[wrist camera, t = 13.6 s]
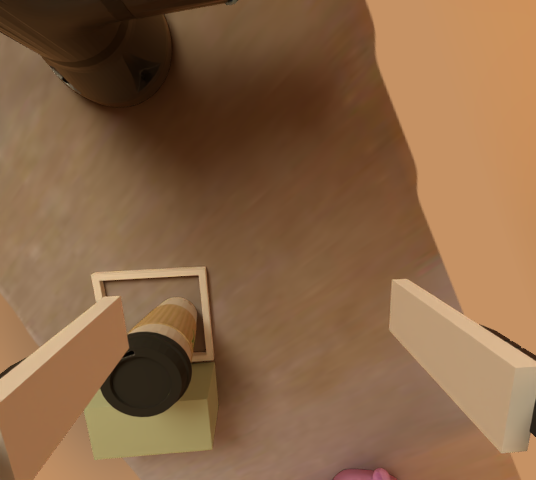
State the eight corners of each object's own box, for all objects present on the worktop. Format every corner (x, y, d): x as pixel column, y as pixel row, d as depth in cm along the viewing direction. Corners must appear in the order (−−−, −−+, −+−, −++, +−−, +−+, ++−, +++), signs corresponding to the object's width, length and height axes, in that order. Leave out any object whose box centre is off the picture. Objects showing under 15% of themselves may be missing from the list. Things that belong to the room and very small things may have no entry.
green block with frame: (94, 272, 42) (58, 293, 34) (205, 266, 43) (195, 285, 35) (120, 413, 47) (94, 459, 39) (218, 405, 48) (212, 449, 40)
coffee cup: (159, 350, 45) (115, 433, 30) (135, 296, 43) (75, 358, 28) (217, 332, 45) (201, 406, 30) (196, 277, 43) (167, 329, 28)
